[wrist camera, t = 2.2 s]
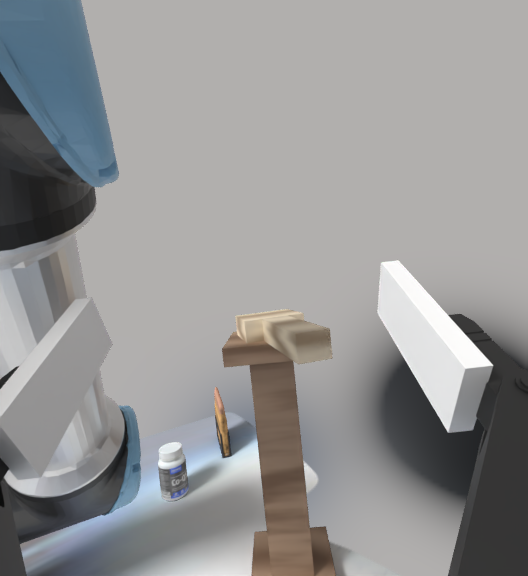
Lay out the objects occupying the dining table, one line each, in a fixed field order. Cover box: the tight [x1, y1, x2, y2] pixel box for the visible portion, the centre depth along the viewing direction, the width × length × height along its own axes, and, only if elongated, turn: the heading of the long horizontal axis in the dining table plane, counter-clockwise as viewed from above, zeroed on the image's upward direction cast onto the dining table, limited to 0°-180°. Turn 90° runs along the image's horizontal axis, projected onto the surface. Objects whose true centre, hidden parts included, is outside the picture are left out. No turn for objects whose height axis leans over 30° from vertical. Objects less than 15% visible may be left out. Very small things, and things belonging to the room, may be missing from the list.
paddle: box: [236, 309, 332, 364], centre depth 35 cm, size 17×7×2 cm, turn 15°
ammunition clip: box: [215, 387, 231, 458], centre depth 75 cm, size 11×2×12 cm, turn 14°
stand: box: [222, 332, 336, 576], centre depth 41 cm, size 10×10×30 cm
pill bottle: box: [158, 442, 188, 501], centre depth 60 cm, size 5×5×8 cm
